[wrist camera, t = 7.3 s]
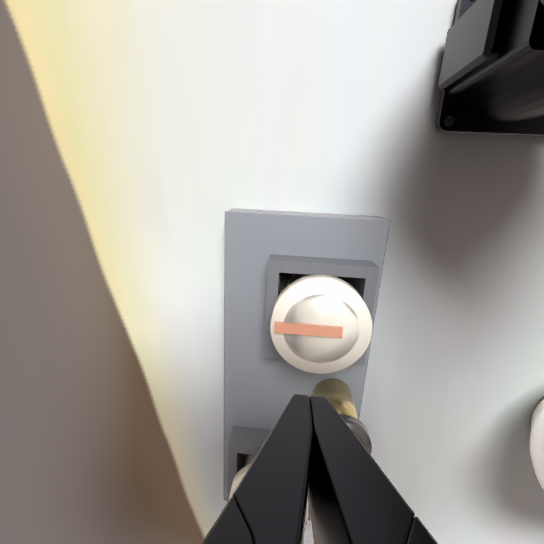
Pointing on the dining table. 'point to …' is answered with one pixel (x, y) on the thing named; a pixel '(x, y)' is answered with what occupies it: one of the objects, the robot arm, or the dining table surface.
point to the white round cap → (320, 323)
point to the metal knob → (343, 406)
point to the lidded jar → (538, 441)
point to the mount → (259, 307)
